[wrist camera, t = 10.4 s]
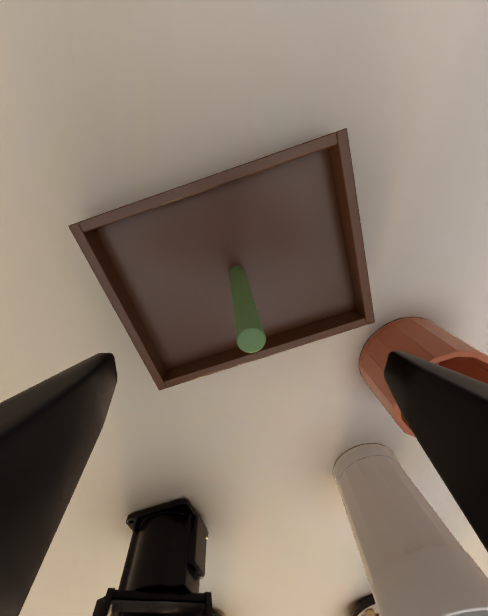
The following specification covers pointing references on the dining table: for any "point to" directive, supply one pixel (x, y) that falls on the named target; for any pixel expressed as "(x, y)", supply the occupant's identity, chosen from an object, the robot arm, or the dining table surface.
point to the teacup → (422, 343)
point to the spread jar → (366, 607)
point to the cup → (405, 541)
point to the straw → (245, 313)
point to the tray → (236, 260)
